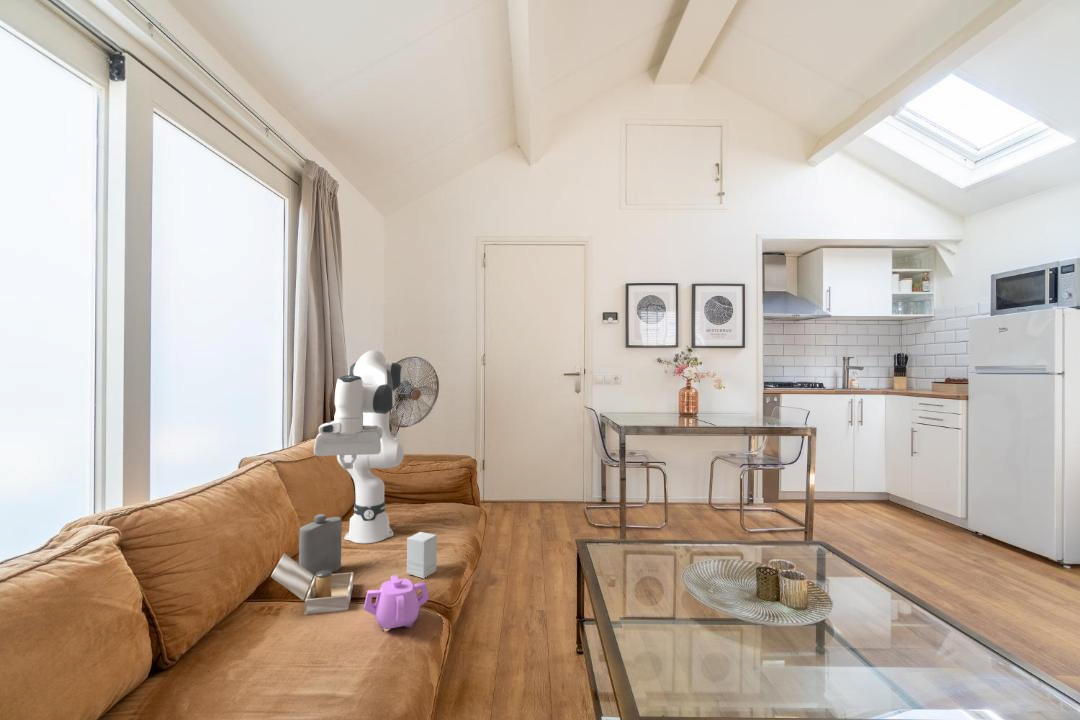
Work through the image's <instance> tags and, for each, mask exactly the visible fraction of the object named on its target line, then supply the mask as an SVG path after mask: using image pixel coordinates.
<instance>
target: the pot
mask: <svg viewBox="0 0 1080 720" xmlns="http://www.w3.org/2000/svg"><path fill="white" fill-rule="evenodd" d="M418 590H421V591H420V592H421V594H420V595H419V596H418V593H417V591H418ZM428 590H429V589H428V587H427V583H426V581H422V582H418V583H413V582H412V580H410V579H408V578H399V577H398V575H397V574H394V575H393V574H392V575H391V576H390V580H386V581H384V582H382V584H381V586H380V588H379V589H370V590H367V592H366V595H365V596H366V597H365V601H364V606H363V610H364V611H365V612H368V613H370V615H373V616H374V618H375V620H376V622H377V623H378V625H379V626H380V627H381V628H382V629H383V628H385V629H390V628H392V629H395V628H400V627H405V626H406V627H409V628H412V627H414V623H415V622H416V621H417V618H418V616H419V612H420V607H421V606H423V605H424V604H425V603H426V602H427V601H428V600H430V596H429V591H428ZM373 597H376V600H375V604H374V603H372V600H373ZM406 627H405V628H406Z"/></svg>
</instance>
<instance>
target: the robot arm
mask: <svg viewBox="0 0 1080 720" xmlns="http://www.w3.org/2000/svg"><path fill="white" fill-rule="evenodd" d="M404 377H405V372H404V368H403V366H402V365H401V364H400V363H396V362H387V360H386V357H385V355H384V354H383V353H382V352H381V351H379V350H376V349H372V350H368V351H366V352H365V353H363V354H362V355H361V356H360V357H359V358H358V359H357V362H354V363H353V364H351V365H350V368H349V370H348V375H342V376H340V377H338V378H337V381H336V385H335V389H334V390H335V391H334V407H335V413H334V417H333V418H334V420H331V421H328V422H325V423H322V424H320V425H319V427H318V434H317V436H316V438H315V440H314V445H313V454H314V455H315V456H316V457H328V456H331V457H332V456H334V457H335V456H336V459H337V462H338V464H339V465H340V466H341V467H342V470H346V471H347V472H348V473H349V475H350V476H351V478H352V480H353V484H354V489H355V490H354V492H355V502H354V504H353V506H354V507H353V515H352V516H351V517H350V518H349V528H348V529H349V531H347V533H346V534H345V535H344V538H343V540H345V541H346V540H347V541H351V542H353V543H355V544H372V543H374V544H375V543H378V542H381V541H384V540H386V539H388V538H391V537H394V532H393V530H392V528H391V526H390V522H389V519H390V517H389V515H388V513H386V507H387V506H386V501H385V483H384V481H383V480H382V479H381V478H380V477H379V476H376V475H374V474H373V472H371V470H370V469H391V468H396V467H398V466H400V465H401V463H402V462H403V460H404V456H405V451H404V448H403V445H401V443H400V442H398V441H397V440H396V439H395V438H394V437H393V434H392V433H391V430H390V412H391V411H392V410H393V409H394V406H395V402H396V401H395V400H396V396H395V390H397V389H399V388H400V386H402V384H403V381H404V380H405V379H404Z"/></svg>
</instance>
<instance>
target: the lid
mask: <svg viewBox="0 0 1080 720" xmlns="http://www.w3.org/2000/svg"><path fill="white" fill-rule="evenodd" d="M312 577H313V574H312V573H310V572H309V571H308V570H306V569H305V568H304V567H302V566H301V565H299V562H297V561H296V560H294V559H293V558H291V557H290V556H289V555H287V554H286V553H285V552H284V553H283V554H282V556H281V558H280V560H279V562H278V563H277V565H276V566H275V568H274V570H273V572H272V574H271V576H270V578H272V579H273V580H274V581H276V582H277V583H278V584H280V585H281V586H283V587H284V588H286V589H287V590H288V591H290V592H291V593H292V594H294V595H295V596H297V597H298V598H299V599H300V600H302V601H305V599H306V596H307V594H308V591H309V588H310V586H311V583H312V582H311V580H312Z"/></svg>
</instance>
